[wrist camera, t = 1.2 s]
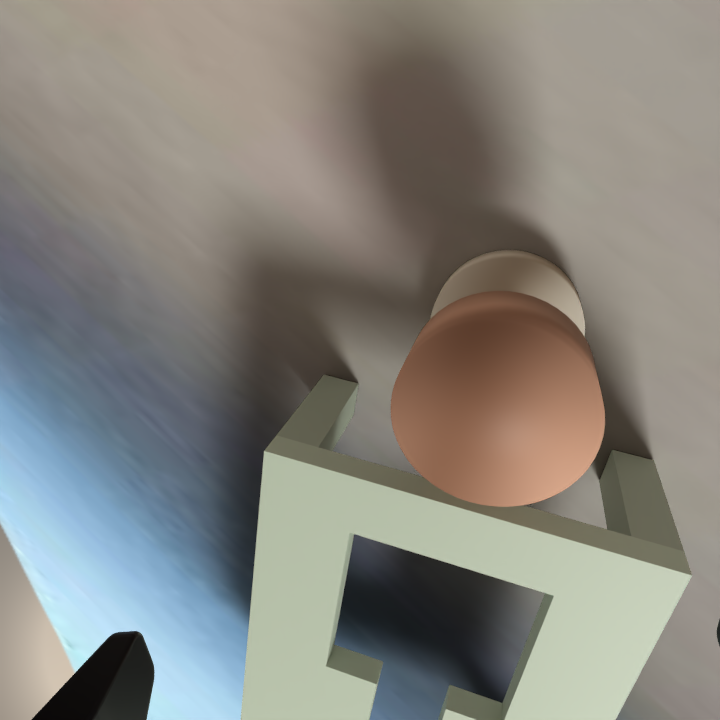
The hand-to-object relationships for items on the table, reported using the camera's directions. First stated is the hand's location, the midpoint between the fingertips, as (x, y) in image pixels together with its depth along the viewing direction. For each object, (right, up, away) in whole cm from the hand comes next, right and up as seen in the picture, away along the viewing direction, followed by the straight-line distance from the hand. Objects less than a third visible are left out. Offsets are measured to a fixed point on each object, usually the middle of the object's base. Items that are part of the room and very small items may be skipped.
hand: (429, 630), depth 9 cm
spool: (+4, +6, +12) cm, 14 cm away
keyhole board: (+2, -6, +18) cm, 19 cm away
